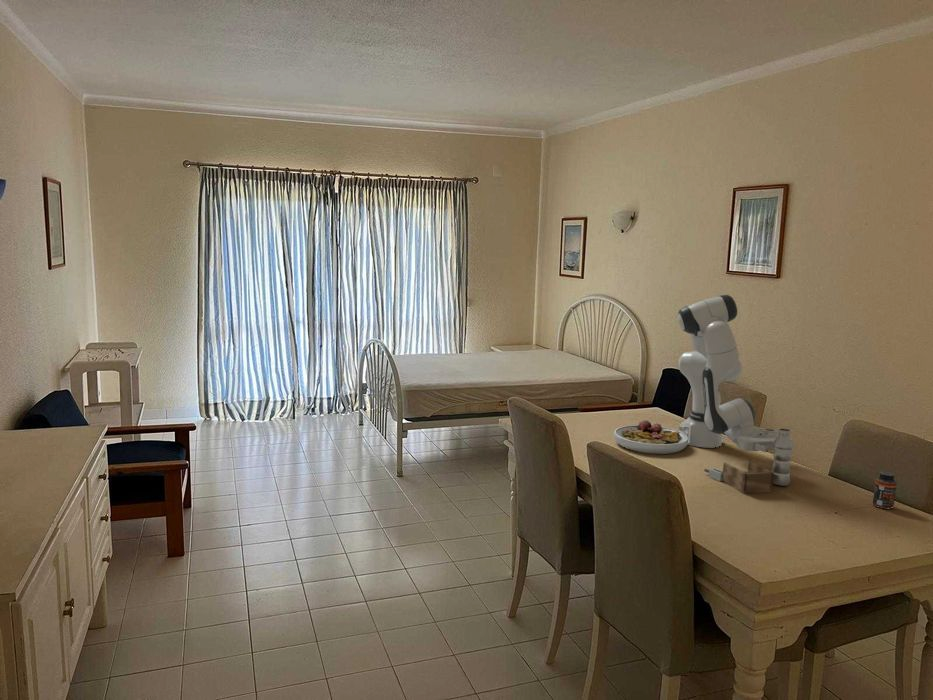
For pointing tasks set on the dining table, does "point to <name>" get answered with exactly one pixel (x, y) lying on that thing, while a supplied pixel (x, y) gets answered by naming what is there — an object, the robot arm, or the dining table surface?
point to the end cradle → (748, 478)
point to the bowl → (650, 438)
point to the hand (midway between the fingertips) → (778, 449)
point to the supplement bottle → (884, 490)
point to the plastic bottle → (782, 458)
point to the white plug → (715, 474)
